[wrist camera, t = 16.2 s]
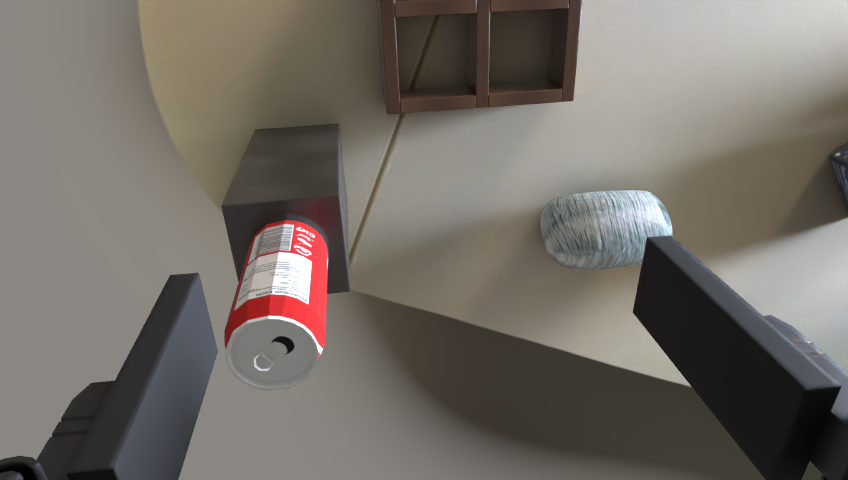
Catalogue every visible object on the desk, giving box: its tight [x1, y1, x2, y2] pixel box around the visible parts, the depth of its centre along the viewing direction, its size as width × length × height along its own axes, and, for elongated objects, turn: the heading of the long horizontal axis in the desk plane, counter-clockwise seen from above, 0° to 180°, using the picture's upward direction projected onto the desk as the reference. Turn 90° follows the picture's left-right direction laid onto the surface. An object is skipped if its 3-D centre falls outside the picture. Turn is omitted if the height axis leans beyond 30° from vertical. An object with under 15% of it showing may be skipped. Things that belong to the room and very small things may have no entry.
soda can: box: [225, 220, 328, 390], centre depth 35 cm, size 6×6×12 cm
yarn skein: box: [540, 190, 672, 270], centre depth 60 cm, size 14×10×10 cm
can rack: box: [377, 0, 582, 114], centre depth 49 cm, size 18×18×4 cm
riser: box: [222, 124, 350, 294], centre depth 48 cm, size 8×8×18 cm
